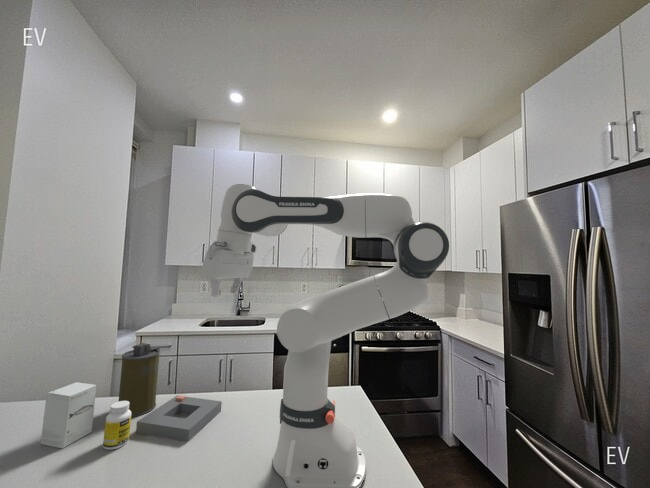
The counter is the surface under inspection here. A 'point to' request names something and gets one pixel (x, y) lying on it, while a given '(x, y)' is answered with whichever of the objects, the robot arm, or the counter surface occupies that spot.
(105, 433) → the supplement bottle
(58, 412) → the supplement box
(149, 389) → the canister
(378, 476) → the counter surface
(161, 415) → the socket block
